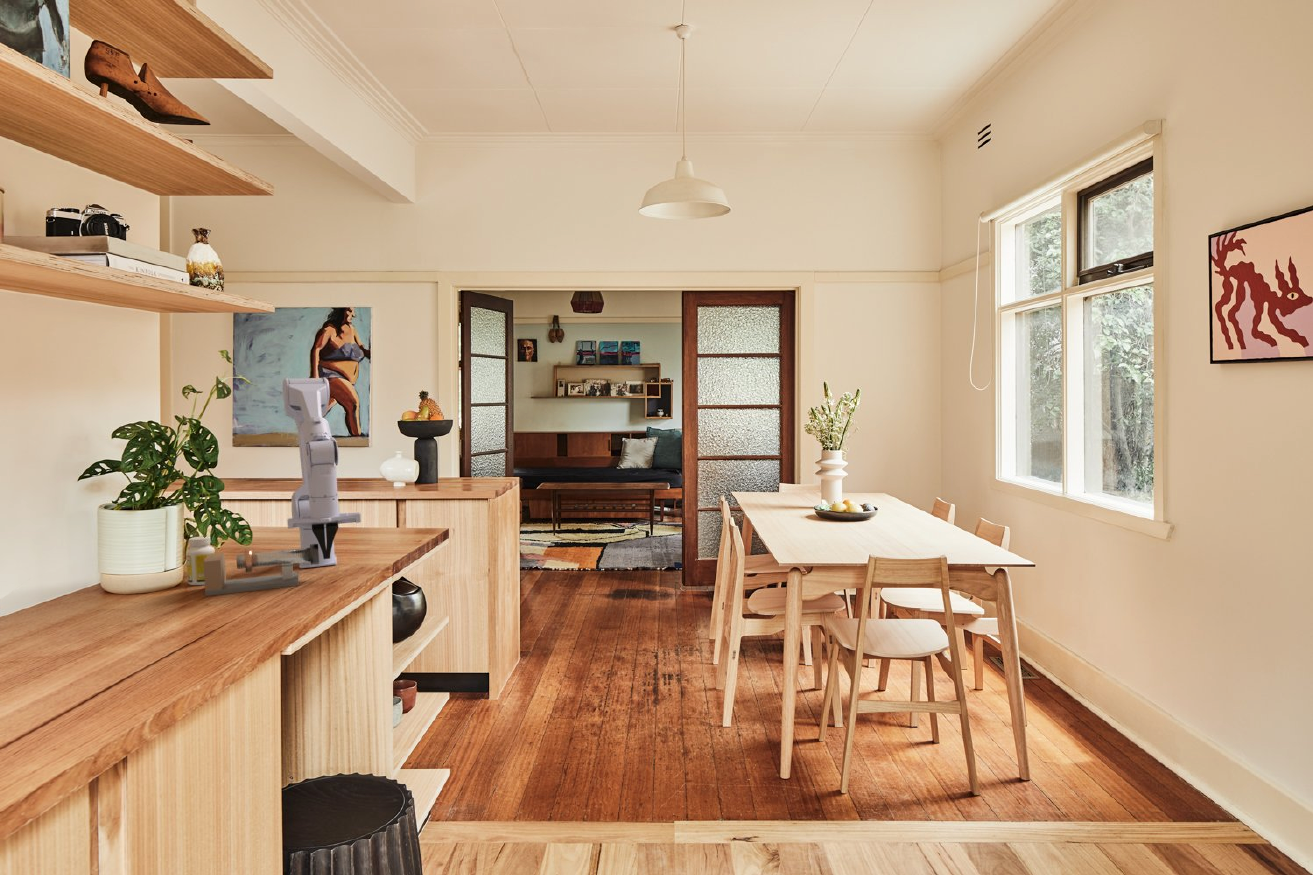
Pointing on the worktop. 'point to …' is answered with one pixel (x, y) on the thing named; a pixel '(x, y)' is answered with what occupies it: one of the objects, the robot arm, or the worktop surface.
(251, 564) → the shaft
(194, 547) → the supplement bottle
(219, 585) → the shaft stand
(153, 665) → the worktop surface
